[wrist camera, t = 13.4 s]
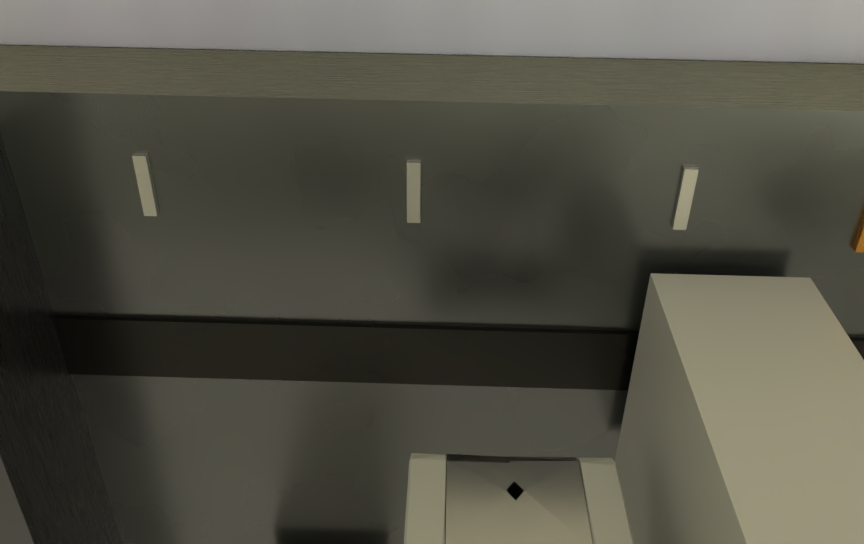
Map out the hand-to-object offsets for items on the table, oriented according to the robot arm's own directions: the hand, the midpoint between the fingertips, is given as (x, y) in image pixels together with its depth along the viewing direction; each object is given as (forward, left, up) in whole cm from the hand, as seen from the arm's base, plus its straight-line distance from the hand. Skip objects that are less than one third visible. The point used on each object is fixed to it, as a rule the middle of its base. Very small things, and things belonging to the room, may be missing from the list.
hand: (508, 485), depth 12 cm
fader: (-3, 0, -2) cm, 4 cm away
